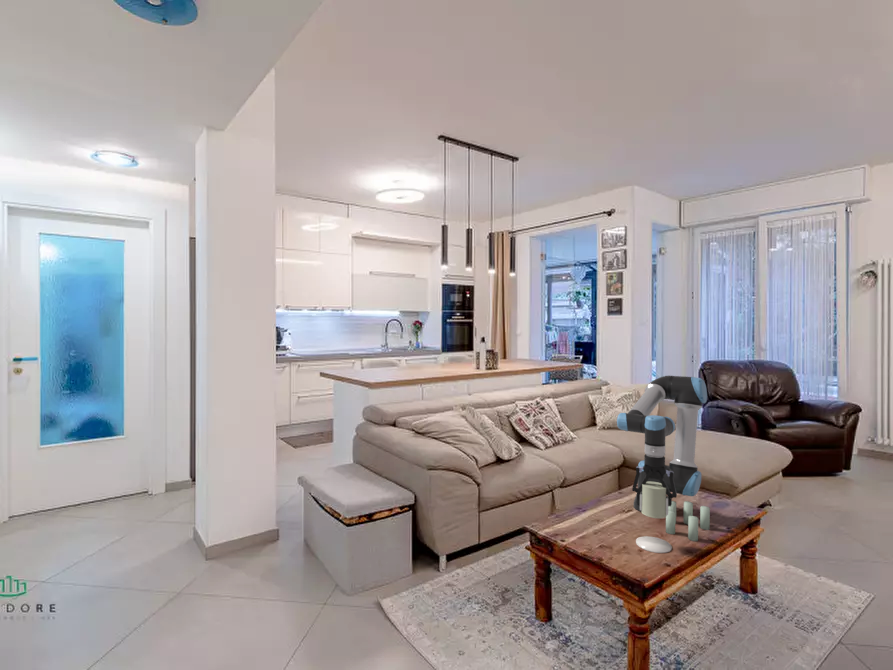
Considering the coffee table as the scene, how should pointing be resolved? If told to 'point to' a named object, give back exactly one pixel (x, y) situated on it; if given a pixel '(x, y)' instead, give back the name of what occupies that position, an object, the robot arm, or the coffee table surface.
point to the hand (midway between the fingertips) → (653, 511)
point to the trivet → (653, 544)
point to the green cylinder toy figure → (654, 500)
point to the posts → (688, 519)
